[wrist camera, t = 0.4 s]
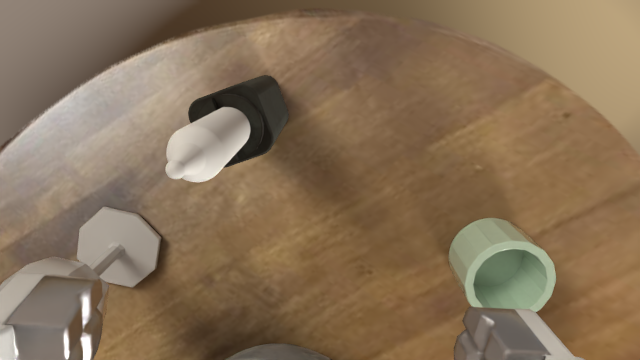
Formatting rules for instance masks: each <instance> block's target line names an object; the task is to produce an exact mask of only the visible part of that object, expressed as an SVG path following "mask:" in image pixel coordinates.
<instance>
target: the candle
mask: <svg viewBox="0 0 640 360" xmlns="http://www.w3.org/2000/svg"><path fill="white" fill-rule="evenodd" d="M188 114H189V120H190V122H191V124H189V125H187V126H185V127H183V128H181V129H179V130H178V131H176V132H175V133H174V134H173V135H172V137H171V139H170V140H169V142H168V146H167V150H166V151H167V160H168V164H167V165H166V173H167V175H168V176H169V177H170V178H172V179H180V178H183V179H184V180H187V181H191V182H202V181H207V180H209V179H211V178H213V177H214V176H215V175H216V174H218V173H219V172H220V170H221V169H222V168H225V167H229V166H232V165H234V164H237V163H240V162H243V161H246V160H249V159H252V158H254V157H257V156H260V155H263V154H265V153H267V152H268V151H269V150H270V149H271V147H272V146H273V144H274V142H275V141H276V139H277V137H278V136H279V134H280V132H281V131H282V129H283V127H284V126H285V124H286V122H287V121H288V116H289V114H288V110H287V107H286V105H285V102H284V99H283V97H282V94H281V91H280V89H279V86H278V84H277V82H276V80H275V79H274V78H272V77H271V76H268V75H264V76H260V77H257V78H254V79H251V80H248V81H245V82H242V83H240V84H237V85H234V86H231V87H228V88H226V89H223V90H220V91H218V92H215V93H212V94H210V95H207V96H204V97H201V98H199V99H197V100H195V101H194V102H193V103H192V104H191V106H190V108H189V112H188Z"/></svg>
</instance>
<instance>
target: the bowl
mask: <svg viewBox="0 0 640 360" xmlns="http://www.w3.org/2000/svg"><path fill="white" fill-rule="evenodd" d="M225 360H332V359H330V358H328V357H326V356H324V355H322V354H320V353H317V352H315V351H313V350H310V349H307V348H303V347H300V346H297V345H291V344H264V345H258V346H254V347H251V348H248V349H245V350H243V351H240V352H238V353H236V354H234V355H232V356H230V357H229V358H227V359H225Z"/></svg>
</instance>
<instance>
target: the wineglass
mask: <svg viewBox="0 0 640 360" xmlns="http://www.w3.org/2000/svg"><path fill="white" fill-rule="evenodd" d="M160 243H161V237H160V236H159V235H158V234H157V233H156V232H155V231H154V230H153V229H152V228H151V227H150V226H149V224H148V223H147V222H146V221H145V220H144V219H143V218H142V217H141V216H140V215H139V214H136V213H132V212H127V211H123V210H118V209H113V208H109V207H103V208H102V209H101V210H99V211H98V212H97V213H96V214H95V215H94V216H93V217H91V218H90V219H89V220H88V221H87V222H86V223H85V224H83V225H82V226H81V227H80V230H79V241H78V252H77V259H78V260H80V261H81V262H77V261H72V260H67V259H62V258H58V257H50V258H47V259H44V260H40V261H37V262H34V263H30V264H28V265H26V266H25V267H23V268H22V269H21V270H19V271H18V272H16V273H15V274H14V275H12V276H11V277H9V278H8V279H7V280H5V281H4V282H3V283H2V284H0V291H1V290H2V289H3V288H4V287H5V286H6V285H7V283H8V282H9V281H10V280H11V279H12V278H13V277H14V276H15V275H16V274H19V273H22V272H25V273H40V274H47V275H49V274H51V275H62V276H73V277H84V278H94V279H100V281H101V282H102V293H103V297H102V299H101V301H100V302H99V304H98V306H97V308H98V310H99V311H100V312H101V313H102V314H103V320H104V318H105V315H106V310H107V301H108V292H109V285H108V284H107V283H106V282H109V283H114V284H119V285H124V286H128V287H134V286H135V285H137V284H138V283H139V282H140V281H141V280H143V279H144V278H145V277H146V276H148V275H149V274H150V273H151V272H153V271H154V270H155V269H156V268H157V263H158V257H159V250H160Z"/></svg>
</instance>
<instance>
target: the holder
mask: <svg viewBox="0 0 640 360" xmlns="http://www.w3.org/2000/svg"><path fill="white" fill-rule="evenodd" d="M449 265H450V268H451V270H452V274H453V275H454V277H455V279H456V281H457V282H458V284H459V286H460V288H461V289H462V291H463V293H464V295H465V296H466V298H467V300H468V302H469V303H470V304H471V305H472V307H485V308H503V309H510V308H512V309H530V310H532V311H534V312H537V311H538V310H540V309H541V308H542V307H543V306H544V305H545V303H546V302H547V301H548V299H549V298H550V297H551V296H552V292H553V289H554V285H555V282H556V274H555V268H554V263H553V262H552V260H551V259H550V258H549V256H548V255H547V253H546V252H545V251H544V250H543V249H542V248H541V247H540V246H539V245H538V244H537V243H535V242H534V241H533V240H532V239H531V238H530V237H529V236H528V235H527V234H526V233H524V232H523V231H522V230H521V229H520V228H518V227H517V226H515V225H514V224H512V223H511V222H509V221H506V220H503V219H499V218H485V219H480V220H477V221H475V222H472V223H470V224H469V225H467V226H466V227H464V228H463V229H462V230H461V231H460V232H459V233H458V234H457V235H456V237H455V238H454V240H453V242H452V244H451V247H450V250H449Z"/></svg>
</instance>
